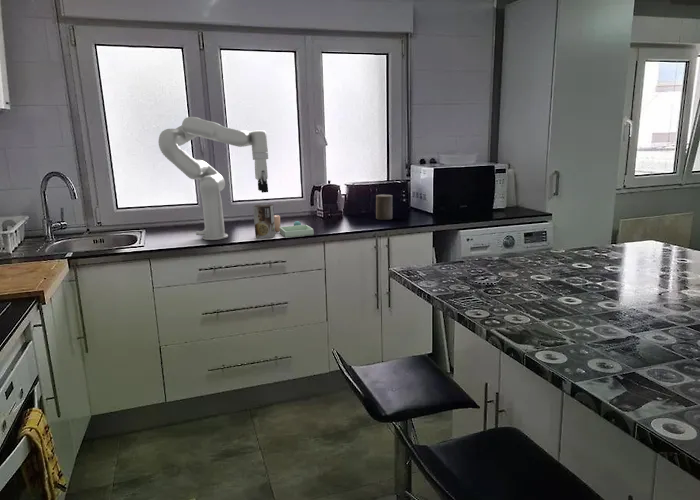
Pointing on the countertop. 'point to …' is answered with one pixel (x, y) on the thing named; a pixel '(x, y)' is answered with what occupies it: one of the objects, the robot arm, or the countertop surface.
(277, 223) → the light brown rounded block
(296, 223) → the ball
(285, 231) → the tray
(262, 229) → the coffee box
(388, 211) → the pillar candle
